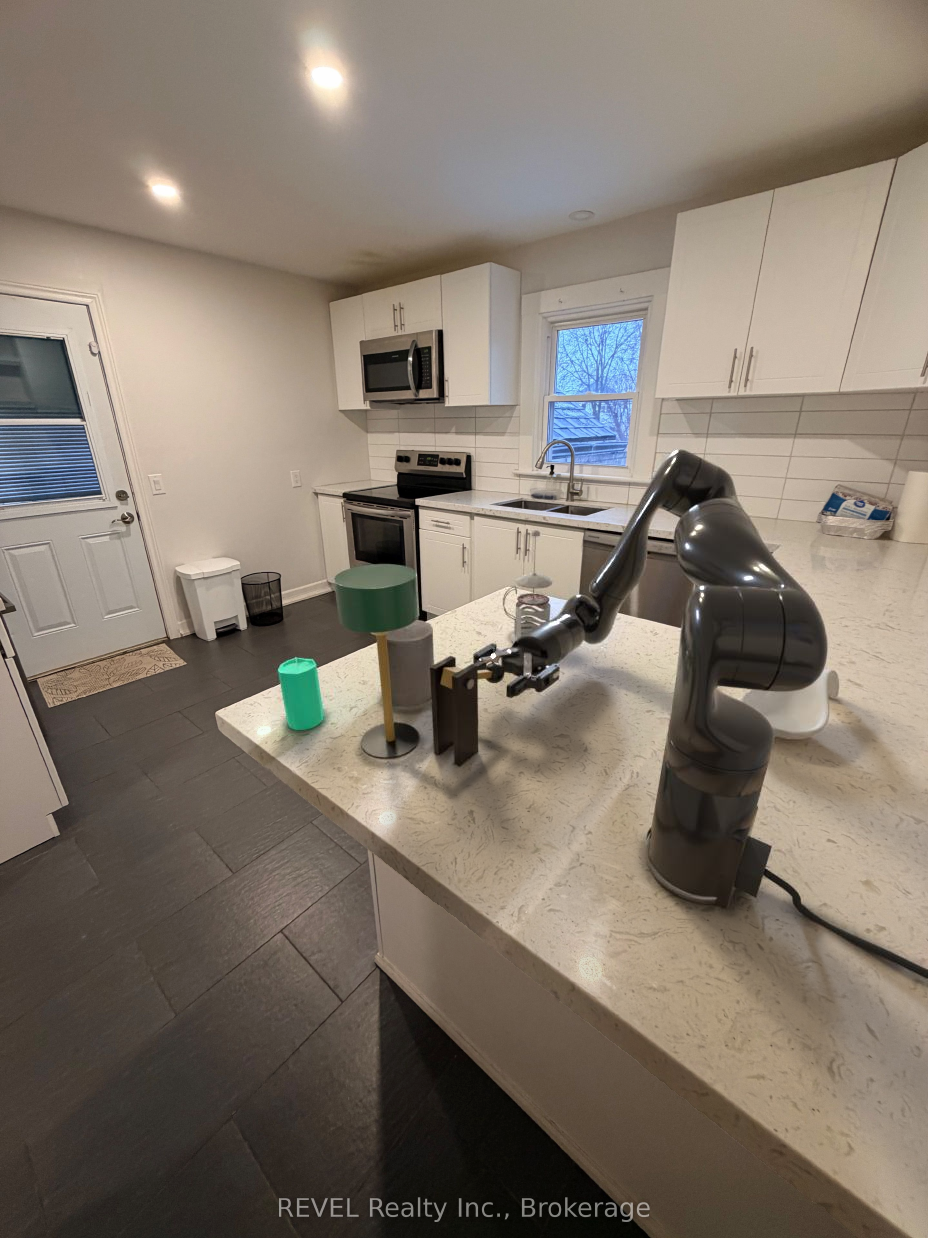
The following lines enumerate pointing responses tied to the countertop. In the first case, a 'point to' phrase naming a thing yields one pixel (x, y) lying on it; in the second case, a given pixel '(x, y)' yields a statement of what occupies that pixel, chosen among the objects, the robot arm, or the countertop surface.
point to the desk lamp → (380, 638)
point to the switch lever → (490, 673)
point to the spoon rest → (797, 707)
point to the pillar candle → (410, 663)
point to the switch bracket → (455, 711)
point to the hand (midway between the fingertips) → (487, 684)
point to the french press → (530, 601)
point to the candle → (301, 693)
